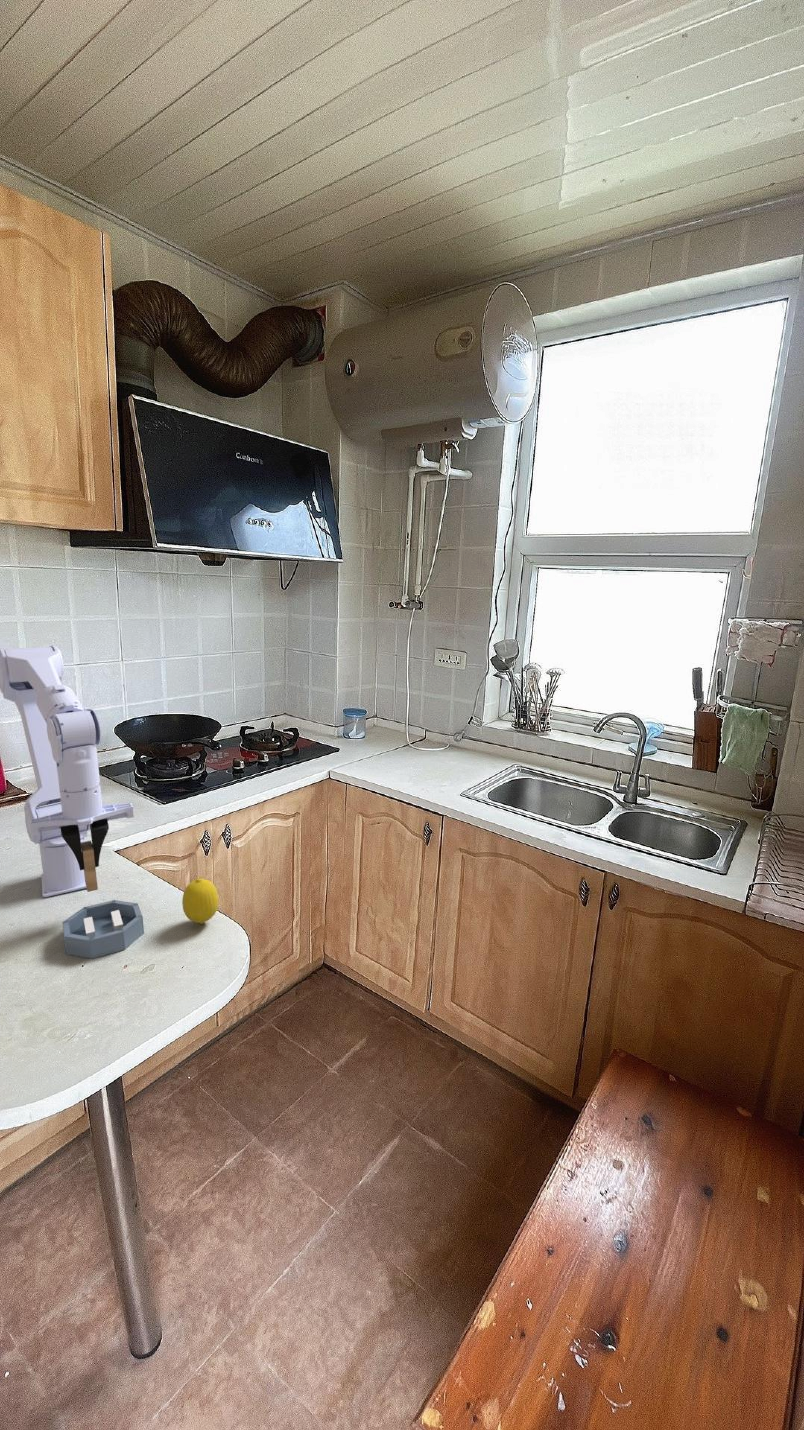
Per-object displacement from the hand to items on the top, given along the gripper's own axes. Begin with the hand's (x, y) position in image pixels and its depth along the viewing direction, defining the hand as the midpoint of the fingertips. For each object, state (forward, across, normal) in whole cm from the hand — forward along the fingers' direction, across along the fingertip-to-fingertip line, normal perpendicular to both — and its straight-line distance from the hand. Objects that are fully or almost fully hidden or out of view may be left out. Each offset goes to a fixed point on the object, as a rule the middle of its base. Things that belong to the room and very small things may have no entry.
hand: (89, 866), depth 98 cm
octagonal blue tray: (+9, +1, -7) cm, 11 cm away
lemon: (+10, +15, -11) cm, 21 cm away
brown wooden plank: (+3, 0, 0) cm, 3 cm away
